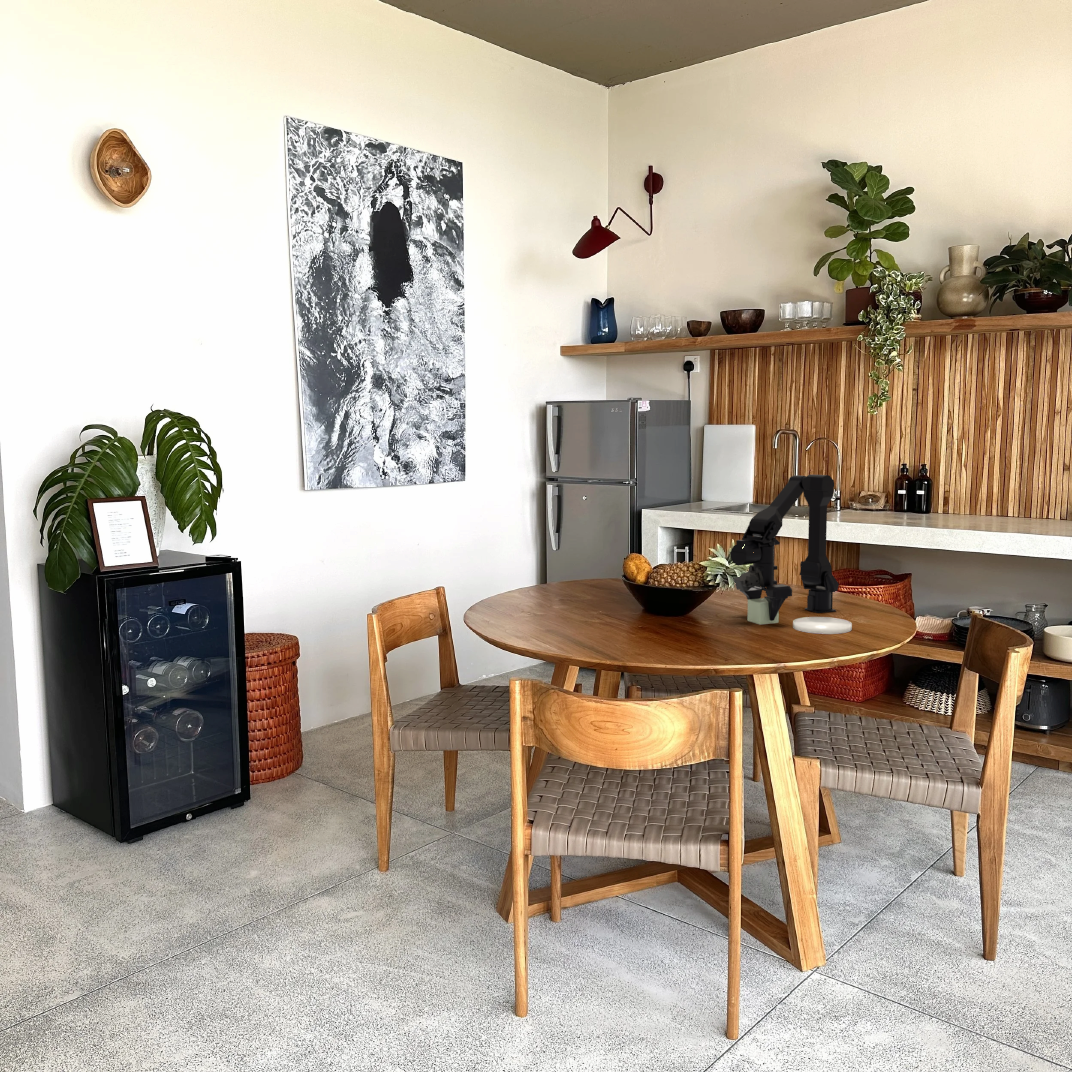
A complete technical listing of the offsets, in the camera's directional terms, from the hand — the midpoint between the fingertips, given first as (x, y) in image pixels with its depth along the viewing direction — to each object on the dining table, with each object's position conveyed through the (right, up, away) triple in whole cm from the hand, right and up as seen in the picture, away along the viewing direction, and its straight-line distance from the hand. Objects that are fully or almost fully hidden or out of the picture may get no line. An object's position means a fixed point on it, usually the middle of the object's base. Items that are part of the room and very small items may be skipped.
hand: (762, 617), depth 269 cm
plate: (+14, -2, -10) cm, 17 cm away
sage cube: (0, -1, 0) cm, 1 cm away
